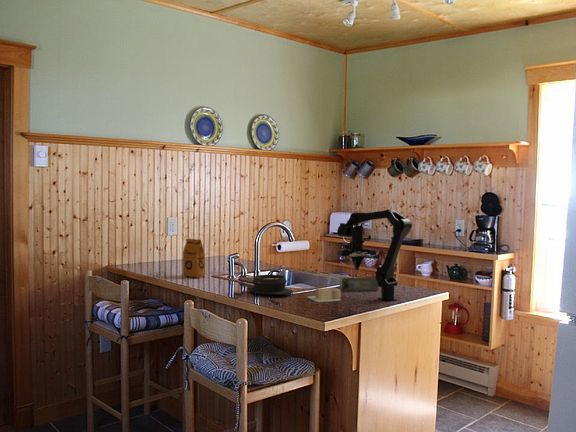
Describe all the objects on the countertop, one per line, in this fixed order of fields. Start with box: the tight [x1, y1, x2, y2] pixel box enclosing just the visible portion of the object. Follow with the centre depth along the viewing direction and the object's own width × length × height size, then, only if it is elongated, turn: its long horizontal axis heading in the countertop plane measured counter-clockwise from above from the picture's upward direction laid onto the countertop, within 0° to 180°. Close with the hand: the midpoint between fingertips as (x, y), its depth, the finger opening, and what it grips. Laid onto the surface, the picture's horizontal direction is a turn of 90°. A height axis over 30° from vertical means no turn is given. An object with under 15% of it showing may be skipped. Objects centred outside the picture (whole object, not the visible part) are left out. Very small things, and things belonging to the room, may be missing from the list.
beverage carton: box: [339, 276, 379, 292], centre depth 285 cm, size 8×19×7 cm, turn 94°
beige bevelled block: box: [315, 287, 342, 300], centre depth 259 cm, size 6×4×10 cm
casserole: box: [245, 274, 294, 297], centre depth 270 cm, size 25×19×8 cm
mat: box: [306, 295, 342, 303], centre depth 259 cm, size 12×12×1 cm
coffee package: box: [182, 238, 206, 278], centre depth 317 cm, size 10×12×22 cm
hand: (356, 269), depth 271 cm, fingers closed
